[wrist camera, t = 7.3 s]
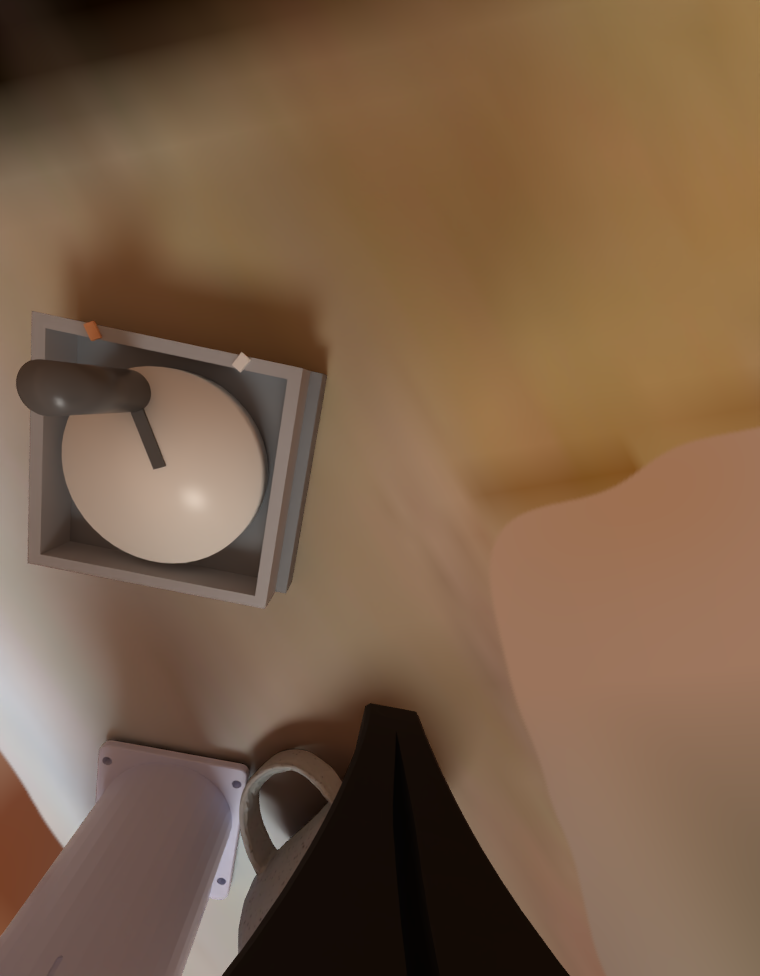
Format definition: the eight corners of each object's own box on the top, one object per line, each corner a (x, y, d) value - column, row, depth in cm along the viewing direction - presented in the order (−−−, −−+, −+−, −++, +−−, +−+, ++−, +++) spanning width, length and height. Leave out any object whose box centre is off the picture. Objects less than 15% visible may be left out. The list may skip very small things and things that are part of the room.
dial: (292, 529, 18) (257, 579, 13) (125, 573, 18) (29, 637, 13) (230, 343, 16) (162, 319, 11) (48, 398, 17) (-93, 398, 12)
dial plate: (291, 581, 20) (276, 612, 17) (67, 538, 20) (13, 561, 17) (327, 372, 18) (316, 367, 15) (75, 319, 17) (15, 304, 15)
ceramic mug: (455, 809, 23) (487, 1009, 15) (366, 894, 24) (356, 1116, 17) (303, 705, 22) (256, 865, 14) (220, 801, 23) (137, 993, 16)
